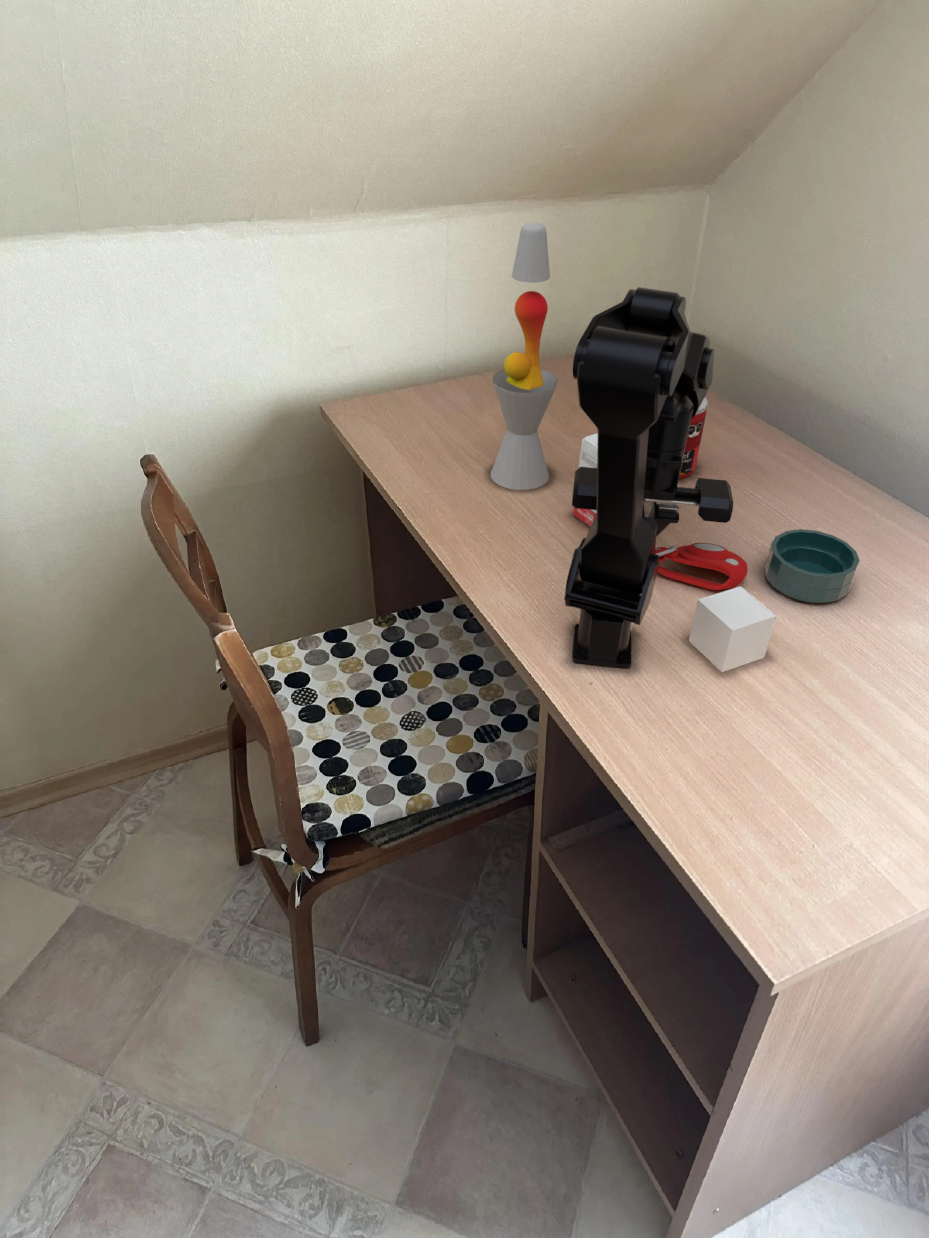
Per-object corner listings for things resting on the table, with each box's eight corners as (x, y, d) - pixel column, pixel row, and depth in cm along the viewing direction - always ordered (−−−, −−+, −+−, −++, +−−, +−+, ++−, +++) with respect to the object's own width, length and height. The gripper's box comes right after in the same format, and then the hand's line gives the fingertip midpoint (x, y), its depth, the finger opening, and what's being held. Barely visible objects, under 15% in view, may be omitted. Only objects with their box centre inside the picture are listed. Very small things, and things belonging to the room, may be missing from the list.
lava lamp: (526, 455, 137) (541, 212, 116) (562, 480, 131) (585, 229, 110) (477, 470, 133) (483, 221, 112) (512, 496, 127) (525, 239, 106)
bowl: (855, 610, 108) (866, 580, 105) (768, 602, 109) (777, 571, 106) (840, 562, 116) (850, 533, 113) (759, 555, 117) (767, 526, 114)
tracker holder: (707, 534, 118) (766, 555, 110) (701, 566, 120) (759, 589, 112) (638, 539, 112) (696, 561, 104) (633, 573, 113) (689, 598, 105)
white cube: (721, 672, 98) (732, 630, 95) (688, 641, 103) (697, 599, 99) (764, 657, 101) (776, 615, 97) (730, 627, 105) (740, 585, 101)
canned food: (639, 475, 133) (649, 406, 126) (648, 451, 139) (658, 384, 132) (691, 484, 131) (704, 415, 124) (698, 460, 137) (711, 392, 130)
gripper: (736, 417, 109) (710, 525, 118) (582, 403, 110) (569, 511, 120) (746, 461, 100) (717, 574, 110) (579, 445, 102) (565, 558, 111)
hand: (640, 552), depth 113 cm, fingers closed
